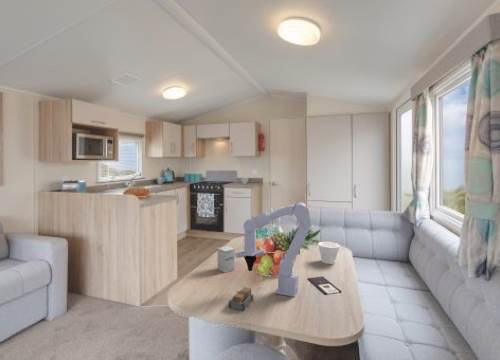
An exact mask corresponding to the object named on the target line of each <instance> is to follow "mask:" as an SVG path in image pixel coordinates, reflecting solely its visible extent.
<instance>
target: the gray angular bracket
mask: <svg viewBox="0 0 500 360" xmlns="http://www.w3.org/2000/svg"><path fill="white" fill-rule="evenodd" d="M239 291H240V290H239ZM239 291H236V293H235V294H234V295H236V294H237V293H238V292H239ZM253 302H254V294H253V293H251V295H249V296H248V297H247V298H246V300H245V301H244V302H243V303H241V302H237V301H233V296H232V298H230V299H229V300H228V308H229V309H231V310H232V309H233V310H237V311H241V312H245V311H246V309H247V308H248V307H249V305H250V304H251V303H253Z"/></svg>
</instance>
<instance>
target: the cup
mask: <svg viewBox="0 0 500 360" xmlns="http://www.w3.org/2000/svg"><path fill="white" fill-rule="evenodd" d="M339 248H340V244H339V243H337V242H333V241H321V242H318V250H319V253H320V258H321V259H320V260H321V263H323V264H325V265H334V264H336V261H337V260H336V259H337V255H338V253H339V250H340V249H339Z"/></svg>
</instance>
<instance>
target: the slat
mask: <svg viewBox="0 0 500 360" xmlns="http://www.w3.org/2000/svg"><path fill="white" fill-rule="evenodd" d="M235 294H236V295H235ZM235 294H234V295H233V296H232V297H233V301H237V302H241V303H243V302H244V301H245V300H246V298H247V297H248V296H249V295H252V288H250V287H247V286H244V287H243V288H242V289H240V290H239V292H238V293H237V292H236V293H235Z"/></svg>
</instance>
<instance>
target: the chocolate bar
mask: <svg viewBox="0 0 500 360" xmlns="http://www.w3.org/2000/svg"><path fill="white" fill-rule="evenodd" d="M307 281H309V282H310V283H311V284H312V285H313V286H315V287H316V288H317V289H318V290H319V291H320V292H321V293H322V294H323V295H333V294H340V293H342V290H341V289H339V288H338V287H337V286H336V285H334V284H333V283H332V282H330V281H329V280H328V279H327V278H326V277H324V276H314V277H308V278H307Z"/></svg>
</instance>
